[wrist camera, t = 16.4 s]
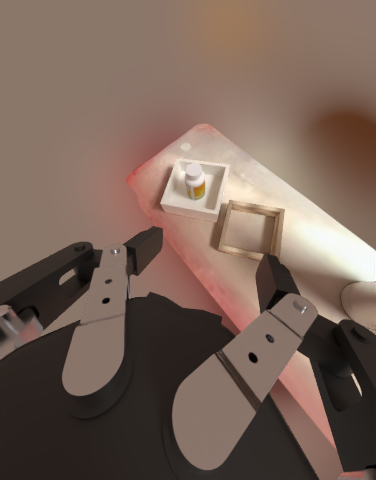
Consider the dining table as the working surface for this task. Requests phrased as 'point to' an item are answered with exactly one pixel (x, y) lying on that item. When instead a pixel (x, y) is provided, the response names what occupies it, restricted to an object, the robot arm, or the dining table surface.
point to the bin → (178, 197)
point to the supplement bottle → (195, 181)
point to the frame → (254, 209)
